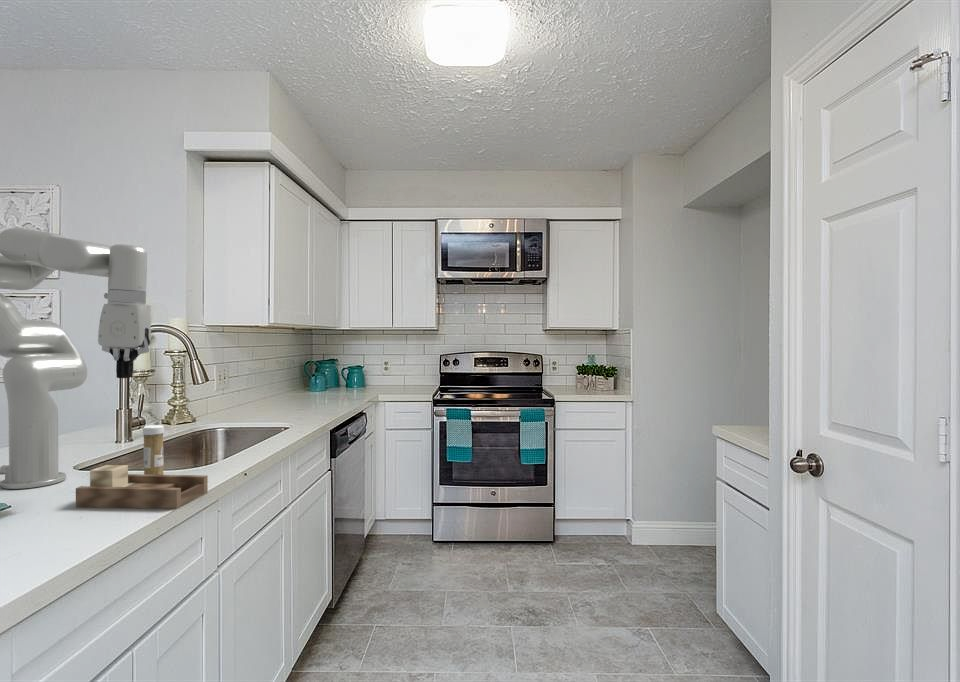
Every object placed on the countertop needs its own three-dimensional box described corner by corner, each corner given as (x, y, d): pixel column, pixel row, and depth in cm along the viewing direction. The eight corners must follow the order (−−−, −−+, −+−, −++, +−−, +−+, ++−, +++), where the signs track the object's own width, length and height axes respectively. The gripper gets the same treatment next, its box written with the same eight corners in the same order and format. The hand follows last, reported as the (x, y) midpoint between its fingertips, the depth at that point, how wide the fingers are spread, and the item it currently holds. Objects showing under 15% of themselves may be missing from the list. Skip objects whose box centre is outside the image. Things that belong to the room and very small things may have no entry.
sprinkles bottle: (164, 479, 141) (164, 426, 141) (143, 482, 138) (143, 428, 138) (163, 476, 145) (163, 424, 144) (142, 478, 142) (142, 425, 142)
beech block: (90, 491, 122) (90, 470, 122) (106, 484, 127) (106, 465, 127) (112, 491, 121) (112, 470, 121) (128, 485, 126) (127, 465, 126)
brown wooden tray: (75, 507, 119) (75, 488, 118) (115, 491, 131) (115, 474, 130) (176, 508, 117) (176, 489, 117) (207, 492, 129) (207, 475, 129)
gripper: (84, 296, 127) (81, 377, 127) (147, 299, 126) (144, 380, 126) (108, 298, 134) (105, 374, 135) (168, 301, 133) (165, 378, 134)
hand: (124, 377), depth 131 cm, fingers closed
